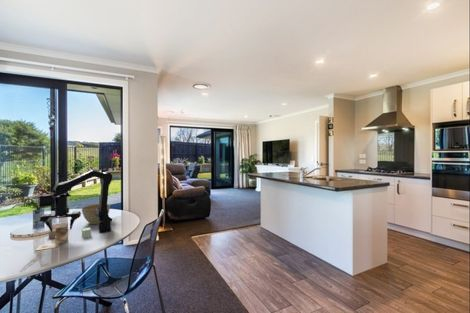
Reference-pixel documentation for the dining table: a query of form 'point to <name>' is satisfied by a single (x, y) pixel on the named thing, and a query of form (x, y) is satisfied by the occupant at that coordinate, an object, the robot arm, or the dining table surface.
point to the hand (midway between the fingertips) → (61, 230)
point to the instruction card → (47, 246)
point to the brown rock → (53, 233)
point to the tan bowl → (92, 213)
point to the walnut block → (61, 230)
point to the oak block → (61, 238)
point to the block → (86, 232)
